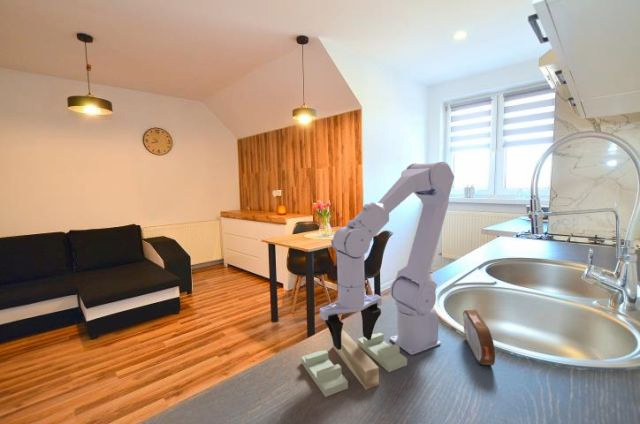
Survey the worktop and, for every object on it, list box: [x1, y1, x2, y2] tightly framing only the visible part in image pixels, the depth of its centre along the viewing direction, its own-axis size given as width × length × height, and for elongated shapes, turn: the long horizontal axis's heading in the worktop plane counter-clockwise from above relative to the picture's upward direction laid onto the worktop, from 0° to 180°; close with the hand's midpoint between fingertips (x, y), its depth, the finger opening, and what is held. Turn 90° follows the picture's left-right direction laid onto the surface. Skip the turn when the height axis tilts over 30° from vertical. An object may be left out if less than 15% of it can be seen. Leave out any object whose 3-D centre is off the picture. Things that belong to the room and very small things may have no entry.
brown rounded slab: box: [462, 309, 496, 366], centre depth 69 cm, size 15×3×8 cm, turn 168°
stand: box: [300, 332, 408, 398], centre depth 67 cm, size 20×12×3 cm, turn 116°
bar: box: [332, 329, 380, 390], centre depth 67 cm, size 3×16×4 cm, turn 21°
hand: (352, 342), depth 66 cm, fingers open, 7 cm apart
